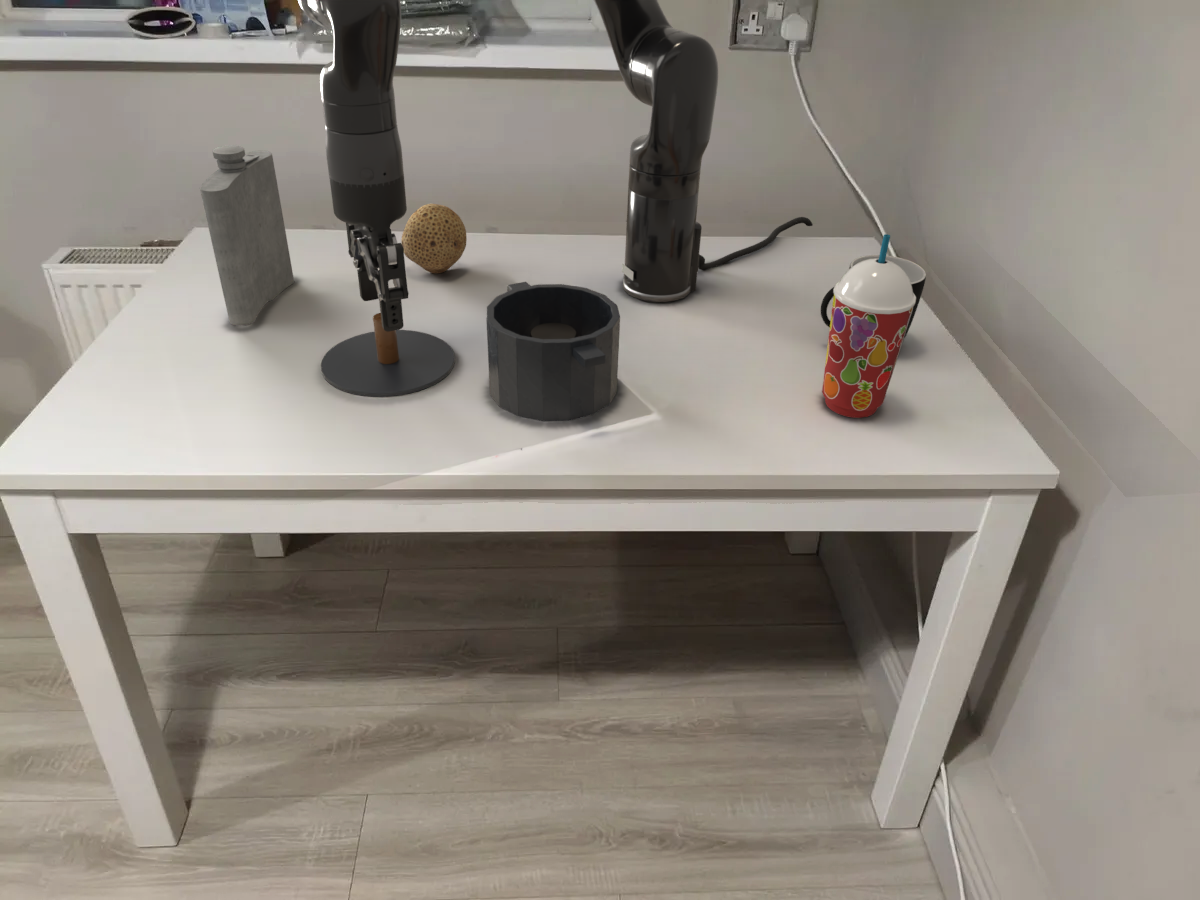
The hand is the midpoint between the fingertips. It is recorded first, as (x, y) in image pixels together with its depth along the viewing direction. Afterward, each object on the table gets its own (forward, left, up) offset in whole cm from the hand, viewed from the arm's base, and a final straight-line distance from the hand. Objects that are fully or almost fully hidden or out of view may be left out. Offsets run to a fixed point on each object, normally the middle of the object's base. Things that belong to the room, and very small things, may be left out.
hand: (381, 313), depth 103 cm
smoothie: (-44, +30, -7) cm, 54 cm away
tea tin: (-15, +13, -7) cm, 21 cm away
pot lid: (0, 0, -6) cm, 6 cm away
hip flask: (+10, -24, -7) cm, 27 cm away
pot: (-15, +13, -7) cm, 21 cm away
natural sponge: (-14, -23, -7) cm, 28 cm away
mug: (-55, +19, -7) cm, 59 cm away
